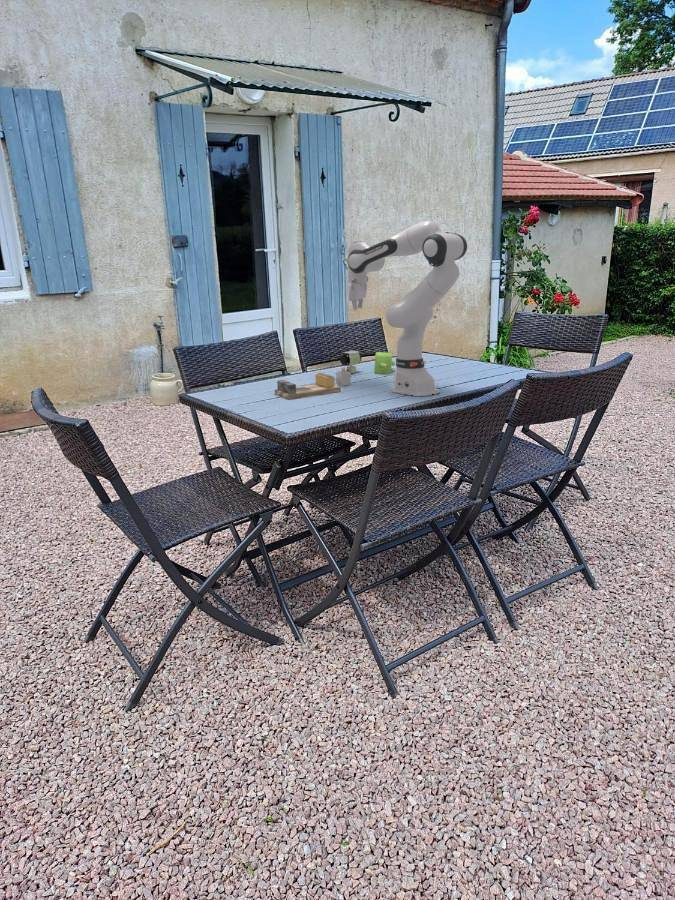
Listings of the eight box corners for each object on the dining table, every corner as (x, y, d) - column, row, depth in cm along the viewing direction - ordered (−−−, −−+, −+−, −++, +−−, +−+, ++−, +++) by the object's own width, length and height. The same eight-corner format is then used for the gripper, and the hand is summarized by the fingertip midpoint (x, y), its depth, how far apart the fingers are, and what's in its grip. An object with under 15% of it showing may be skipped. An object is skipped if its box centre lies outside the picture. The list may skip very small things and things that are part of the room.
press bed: (340, 391, 299) (340, 378, 298) (289, 399, 287) (288, 386, 285) (324, 386, 311) (324, 373, 309) (274, 393, 298) (274, 380, 296)
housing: (350, 385, 313) (350, 368, 310) (341, 386, 310) (341, 369, 308) (345, 383, 317) (344, 366, 315) (336, 384, 315) (335, 367, 312)
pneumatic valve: (339, 374, 338) (339, 350, 334) (355, 370, 346) (355, 347, 342) (347, 375, 334) (347, 351, 330) (363, 372, 342) (363, 348, 338)
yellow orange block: (334, 386, 299) (334, 375, 298) (326, 387, 297) (326, 376, 296) (323, 382, 308) (322, 372, 306) (315, 383, 306) (315, 373, 304)
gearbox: (394, 376, 332) (395, 357, 329) (374, 375, 333) (375, 357, 330) (394, 369, 349) (395, 351, 346) (375, 368, 350) (376, 350, 346)
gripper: (358, 280, 296) (359, 311, 300) (369, 277, 314) (369, 307, 318) (344, 280, 297) (345, 311, 301) (356, 277, 316) (356, 307, 320)
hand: (357, 309), depth 310 cm, fingers open, 8 cm apart
